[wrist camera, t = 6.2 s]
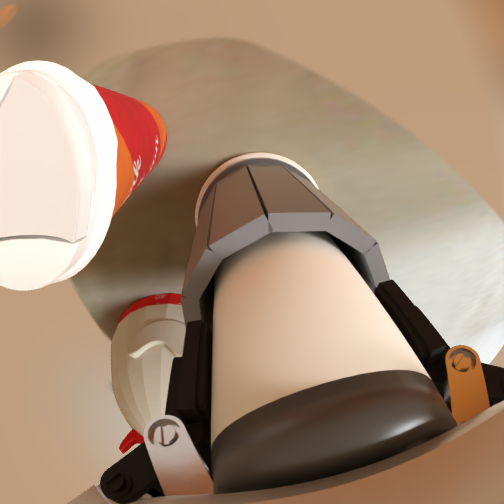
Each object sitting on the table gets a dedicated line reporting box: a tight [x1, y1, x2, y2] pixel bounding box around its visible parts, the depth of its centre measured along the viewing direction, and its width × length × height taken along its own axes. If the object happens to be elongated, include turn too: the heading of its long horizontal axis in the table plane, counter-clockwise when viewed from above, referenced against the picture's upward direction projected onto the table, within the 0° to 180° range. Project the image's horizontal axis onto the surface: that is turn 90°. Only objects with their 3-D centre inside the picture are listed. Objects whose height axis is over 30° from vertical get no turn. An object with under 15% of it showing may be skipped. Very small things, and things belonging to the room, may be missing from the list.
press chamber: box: [181, 152, 390, 335], centre depth 17 cm, size 10×10×12 cm
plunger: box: [211, 231, 457, 494], centre depth 13 cm, size 6×6×17 cm
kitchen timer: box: [111, 293, 186, 453], centre depth 22 cm, size 14×14×15 cm
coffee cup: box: [0, 61, 167, 291], centre depth 13 cm, size 8×8×15 cm
